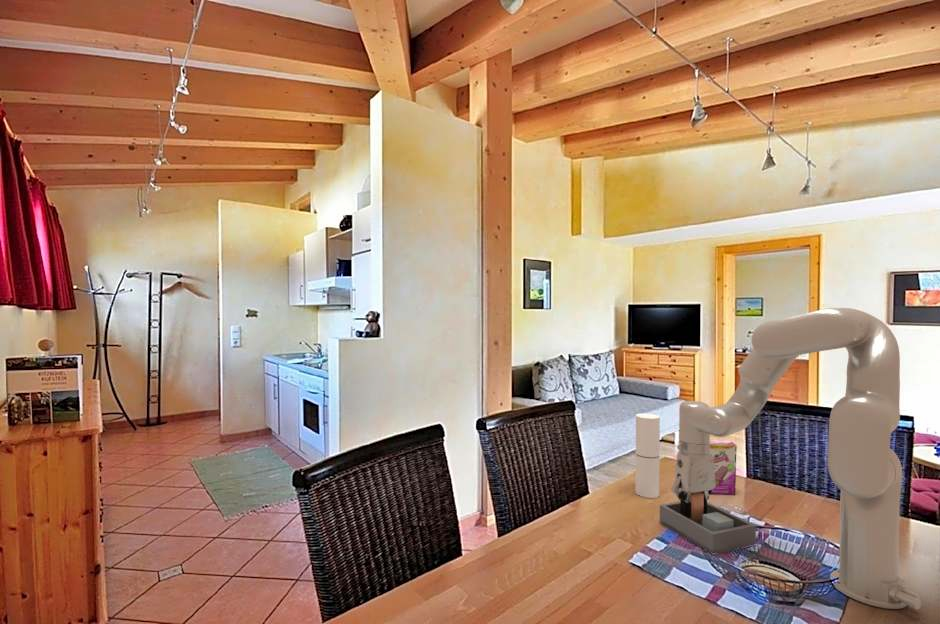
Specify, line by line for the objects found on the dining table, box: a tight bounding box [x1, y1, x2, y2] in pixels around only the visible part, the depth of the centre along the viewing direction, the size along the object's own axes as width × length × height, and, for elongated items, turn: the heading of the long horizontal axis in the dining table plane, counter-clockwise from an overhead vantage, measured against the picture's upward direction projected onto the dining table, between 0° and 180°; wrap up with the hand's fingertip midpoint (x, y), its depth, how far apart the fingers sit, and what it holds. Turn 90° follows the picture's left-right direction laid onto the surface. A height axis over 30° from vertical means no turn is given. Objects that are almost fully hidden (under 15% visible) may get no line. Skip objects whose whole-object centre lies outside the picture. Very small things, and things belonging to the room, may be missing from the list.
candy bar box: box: [710, 439, 738, 496], centre depth 153 cm, size 11×5×16 cm, turn 84°
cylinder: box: [683, 492, 704, 522], centre depth 128 cm, size 5×5×7 cm
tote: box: [659, 501, 757, 554], centre depth 125 cm, size 18×14×5 cm
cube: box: [702, 512, 734, 532], centre depth 121 cm, size 5×5×5 cm
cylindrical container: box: [634, 412, 661, 499], centre depth 151 cm, size 7×7×25 cm
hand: (693, 513), depth 128 cm, fingers closed on cylinder, 4 cm apart
